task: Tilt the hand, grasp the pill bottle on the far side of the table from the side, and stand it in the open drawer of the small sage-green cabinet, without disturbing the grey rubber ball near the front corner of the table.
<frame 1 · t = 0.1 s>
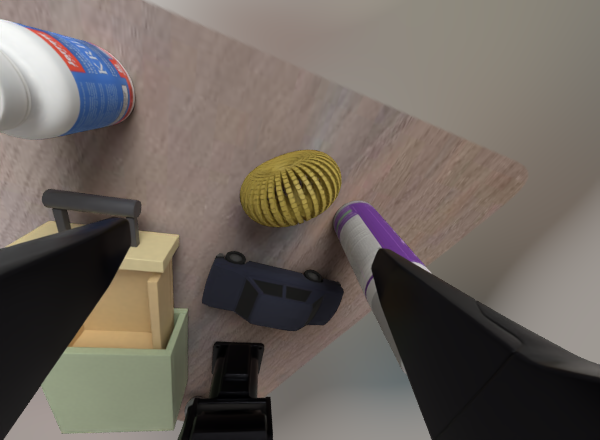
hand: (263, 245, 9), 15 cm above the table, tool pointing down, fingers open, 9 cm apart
drawer: (110, 282, 23), point 3 cm above the table, slide at 9.5 cm
rubber ball: (195, 408, 36), point 1 cm above the table
sculpture: (286, 170, 23), on the table
toy car: (275, 279, 29), on the table
cabinet: (137, 346, 31), on the table
container: (354, 219, 26), on the table
pill bottle: (98, 85, 18), on the table
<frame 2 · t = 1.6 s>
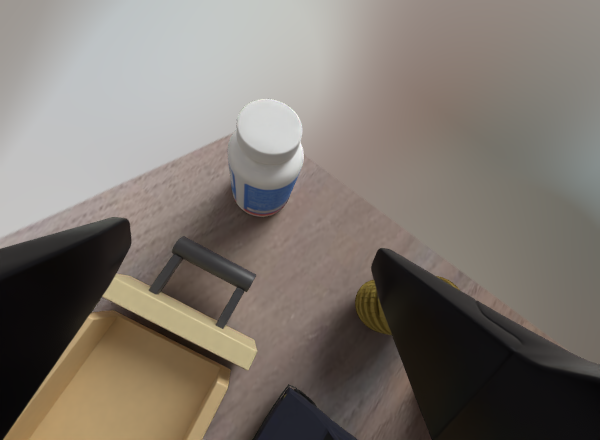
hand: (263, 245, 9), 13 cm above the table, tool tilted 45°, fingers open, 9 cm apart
drawer: (143, 380, 16), point 3 cm above the table, slide at 9.5 cm
sculpture: (379, 302, 24), on the table
pill bottle: (260, 191, 24), on the table
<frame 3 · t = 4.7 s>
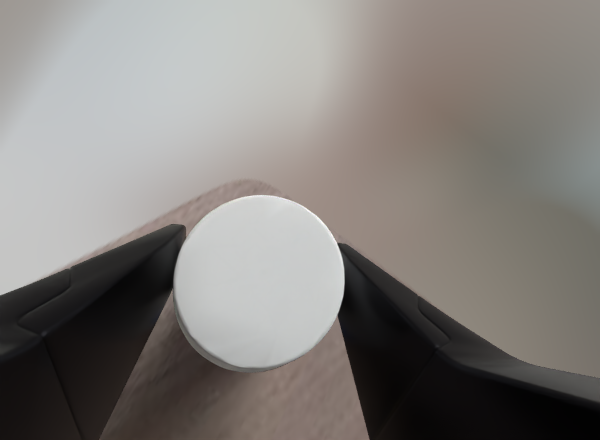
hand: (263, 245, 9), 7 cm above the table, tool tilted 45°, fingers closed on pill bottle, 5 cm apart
pill bottle: (251, 289, 15), on the table, touching gripper
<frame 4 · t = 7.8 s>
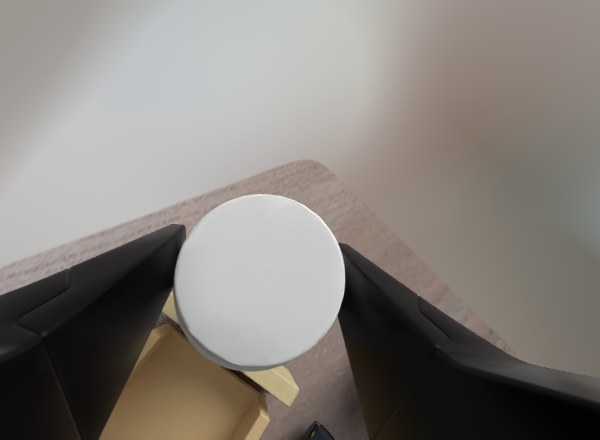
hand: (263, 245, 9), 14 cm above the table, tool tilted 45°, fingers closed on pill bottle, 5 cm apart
drawer: (191, 397, 17), point 3 cm above the table, slide at 9.5 cm
pill bottle: (252, 288, 15), point 8 cm above the table, touching gripper
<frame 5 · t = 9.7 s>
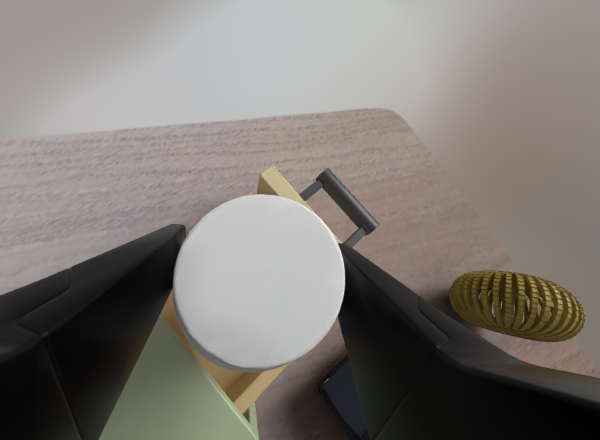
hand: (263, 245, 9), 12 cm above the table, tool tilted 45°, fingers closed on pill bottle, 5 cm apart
drawer: (269, 270, 17), point 3 cm above the table, slide at 9.5 cm
sculpture: (463, 302, 24), on the table
toy car: (388, 435, 19), on the table
cabinet: (103, 417, 16), on the table
pill bottle: (252, 289, 15), point 5 cm above the table, touching gripper
when the fingers open (8 cm above the table, at t = 11.0 s): pill bottle stays where it is, resting on drawer.
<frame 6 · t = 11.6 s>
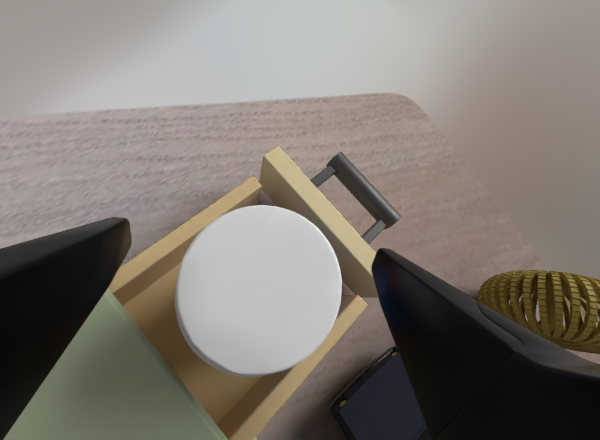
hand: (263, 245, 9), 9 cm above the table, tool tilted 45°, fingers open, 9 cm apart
drawer: (274, 269, 15), point 3 cm above the table, slide at 9.6 cm, touching pill bottle
sculpture: (491, 307, 21), on the table
pill bottle: (251, 292, 15), point 2 cm above the table, touching drawer
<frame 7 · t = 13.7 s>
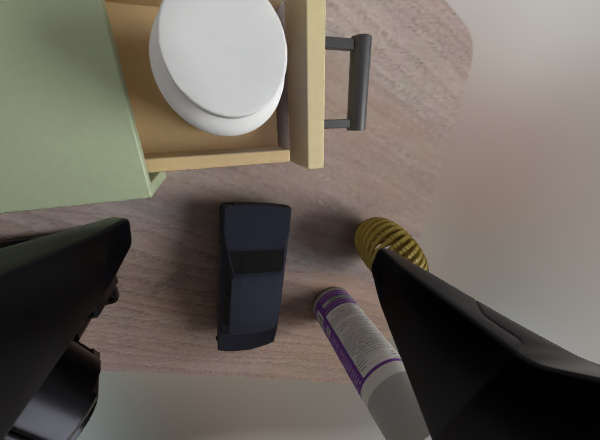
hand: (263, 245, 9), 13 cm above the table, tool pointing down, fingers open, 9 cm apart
drawer: (245, 85, 16), point 3 cm above the table, slide at 9.6 cm, touching pill bottle
sculpture: (364, 236, 28), on the table
toy car: (247, 268, 24), on the table
cabinet: (8, 87, 15), on the table
container: (330, 302, 30), on the table
pill bottle: (216, 89, 17), point 2 cm above the table, touching drawer
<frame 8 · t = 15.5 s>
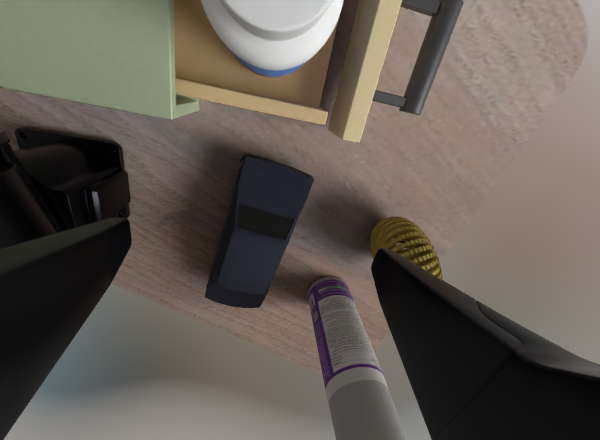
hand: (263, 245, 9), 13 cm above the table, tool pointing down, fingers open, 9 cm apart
drawer: (302, 27, 14), point 3 cm above the table, slide at 9.6 cm, touching pill bottle
sculpture: (383, 235, 26), on the table
toy car: (254, 228, 24), on the table
container: (327, 290, 29), on the table
pill bottle: (271, 26, 15), point 2 cm above the table, touching drawer
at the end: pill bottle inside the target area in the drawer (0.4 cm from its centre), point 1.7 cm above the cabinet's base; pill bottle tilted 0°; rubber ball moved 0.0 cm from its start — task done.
